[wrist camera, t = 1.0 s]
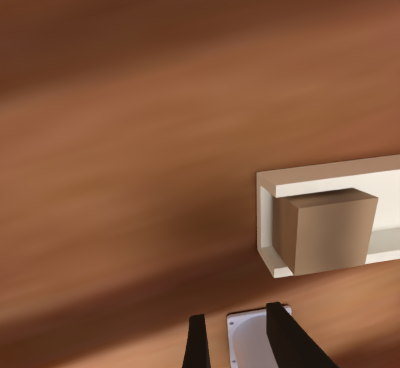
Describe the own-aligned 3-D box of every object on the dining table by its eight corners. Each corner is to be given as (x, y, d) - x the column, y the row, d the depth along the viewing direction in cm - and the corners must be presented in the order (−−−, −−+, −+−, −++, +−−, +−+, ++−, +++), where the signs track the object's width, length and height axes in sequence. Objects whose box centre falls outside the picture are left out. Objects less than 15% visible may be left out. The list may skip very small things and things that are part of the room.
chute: (257, 249, 21) (273, 278, 17) (256, 172, 18) (276, 185, 14) (443, 222, 22) (497, 243, 18) (469, 145, 19) (539, 151, 16)
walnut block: (271, 245, 19) (294, 276, 15) (273, 189, 17) (298, 208, 13) (329, 237, 19) (364, 264, 16) (336, 181, 18) (378, 197, 14)
